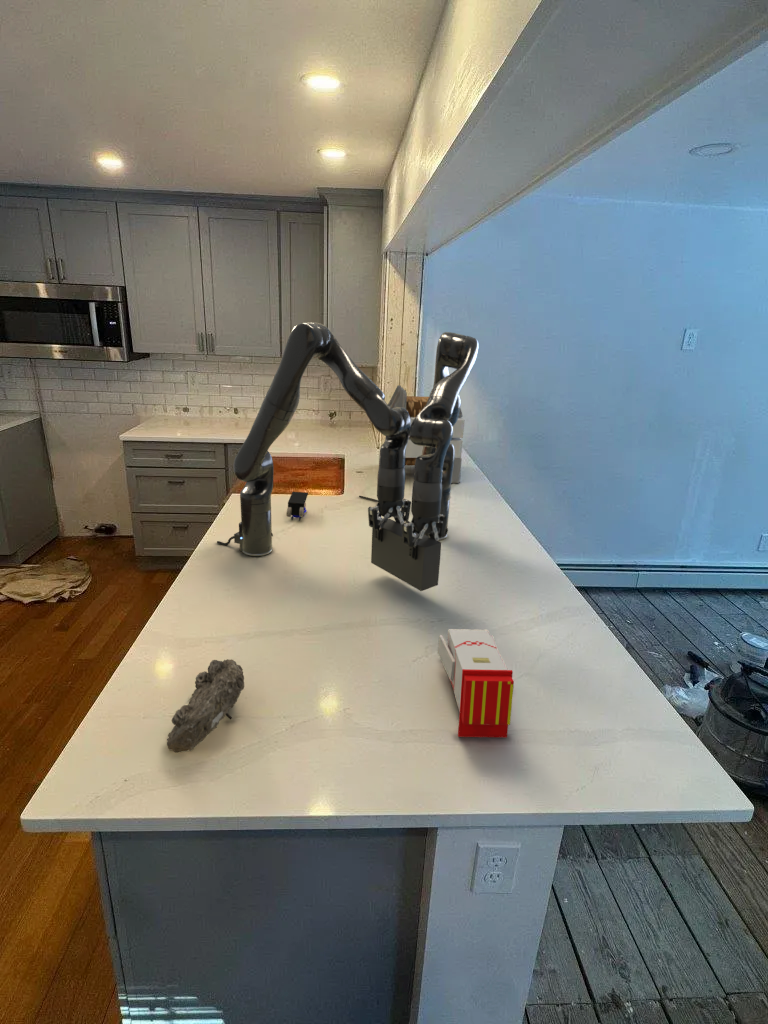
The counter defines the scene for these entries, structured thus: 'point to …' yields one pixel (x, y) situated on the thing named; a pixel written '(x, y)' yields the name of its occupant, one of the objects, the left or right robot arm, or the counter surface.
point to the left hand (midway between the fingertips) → (388, 538)
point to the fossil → (206, 705)
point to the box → (407, 557)
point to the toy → (478, 682)
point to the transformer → (413, 408)
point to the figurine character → (297, 505)
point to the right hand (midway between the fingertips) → (422, 555)
